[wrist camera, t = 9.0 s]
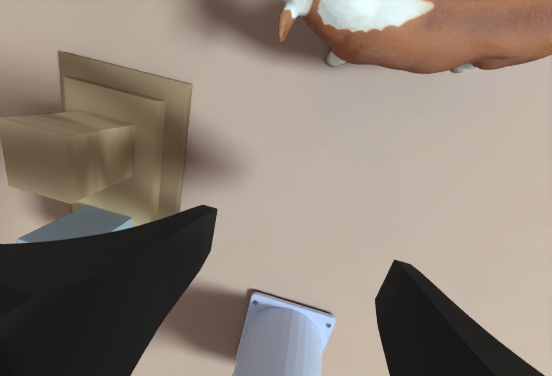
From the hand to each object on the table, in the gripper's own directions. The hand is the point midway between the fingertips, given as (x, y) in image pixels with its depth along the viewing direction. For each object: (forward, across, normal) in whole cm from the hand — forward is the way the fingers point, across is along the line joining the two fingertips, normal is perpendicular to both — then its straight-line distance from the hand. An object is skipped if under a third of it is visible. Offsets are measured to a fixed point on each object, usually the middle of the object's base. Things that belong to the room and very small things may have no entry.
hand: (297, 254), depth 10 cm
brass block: (+8, +15, +1) cm, 17 cm away
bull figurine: (+11, -2, -10) cm, 15 cm away
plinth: (+10, +15, +5) cm, 19 cm away
